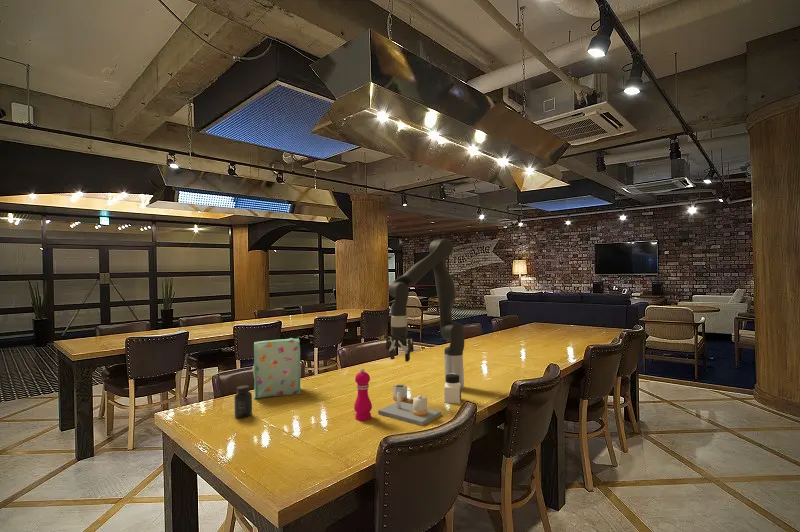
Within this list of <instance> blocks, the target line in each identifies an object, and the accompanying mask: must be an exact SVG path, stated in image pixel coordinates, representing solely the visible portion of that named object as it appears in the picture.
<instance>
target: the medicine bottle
mask: <svg viewBox="0 0 800 532" xmlns="http://www.w3.org/2000/svg"><path fill="white" fill-rule="evenodd" d="M443 393H444V394H443V397H444V398H443V399H444V400H443V401H444V403H445V404H459V405H460V404H461V401H462V390H461V384H460V383H459V375H457V374H454V373H451V374H447V375H446V383H445V382H444V387H443Z"/></svg>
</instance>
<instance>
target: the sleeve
mask: <svg viewBox="0 0 800 532" xmlns="http://www.w3.org/2000/svg"><path fill="white" fill-rule="evenodd" d="M397 392H400V394H401V402H406V401H407V400H408V386H407V385H405V384H395V385H393V386H392V400H393V401H395V402H397Z"/></svg>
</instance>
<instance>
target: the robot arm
mask: <svg viewBox="0 0 800 532" xmlns="http://www.w3.org/2000/svg"><path fill="white" fill-rule="evenodd" d="M453 251H454V245H453V242H452V241H450V240H449V239H447V238H442V239H441V238H440V239H434V240H433V241H431V242H430V244H429V250H428V252H429V254H428V255H427V256H425V257H423V259H421V260H419V261H417V262H416V263H415V264H413V265H412V266H411V267H410V268H409V269H408V270H407V271H406V272H405V273H404V274H403V275H400V276H399V277H398V278H396V279H395V280H393V281H392V282H391V283H390V285H389V286H388V294H389V296H391V297H393V298H394V302H393V303H392V304H391V306H390V308H391V309H390V316H391V318H390V336H386V340H385V350H387V351H389V358H390V360H395V358H396V357H395V349H396V348H400V349H402V350H403V352H404V353H405V354H404V360H405V361H404V362H410V359H411V353H413V352H414V351H415V350H414V339H413V338H408V319H407V318H408V316H407V304H408V300H409V293H410V291H409V290H410V289H409V287H412V286H414V285H416V283H418V282H419V281H420V280H421V279H422V278H423V277H424V276H425V275H426V274H427V273H429V271H431V270H432V269H433V274H434V281H435V287H436V288H435V290H436V295H437V302H438V310H439V325H440V326H439V328H440V333H441V337H442V338H443V339H444V340H448V341H450V344H449V346H447V347H445V348H444V350H443V351H444V352H443V353H444V384H445V383H446V375H447V374H451V373H454V374H457V375H459V383H460V384H461V391H463V390H464V389H465V372H464V371H465V369H464V349H465V337H466V335H465V334H466V332H465V327H464V325H463V324H462V323H460V322H456V321H453V315H452V311H453V306H454V303H455V300H456V295H457V294H456V287H455V281H454V279H453V277H452V275H451V274H450V271H449V270H448V268H447V266H446V259H447V258H448V257H450V256H451V254H453Z"/></svg>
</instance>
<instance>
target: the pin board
mask: <svg viewBox="0 0 800 532" xmlns="http://www.w3.org/2000/svg"><path fill="white" fill-rule="evenodd" d="M412 400H413V403H408V402H405V401H401V394H400V392H397V401H395V402H393V403H391V404H390V405H387V406H385V407H383V408H381V409H378V410H377V411H378V412H377V413H378V415H380V416H384V417H388V418H389V417H390V418H392V419H395V420H399V421H402V422H406V423H411V424H414V425H418V426H424V425H427V424H428V423H430V422H431V421H433V420H435V419H436V418H438V417H440V416H442V411H441V410H439V409H438V410H437V409H434V408H429V407H428V398H427V396H423V395H421V394H419V395H418V396H415V397H413V399H412Z"/></svg>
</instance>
